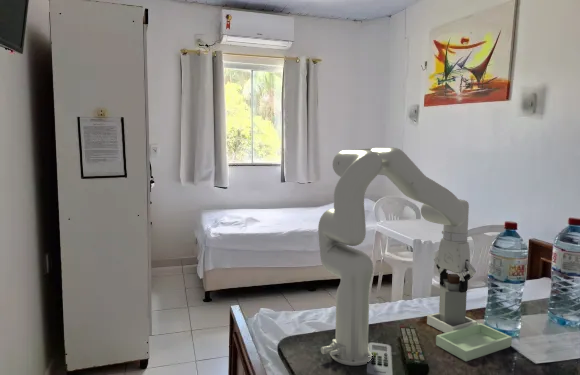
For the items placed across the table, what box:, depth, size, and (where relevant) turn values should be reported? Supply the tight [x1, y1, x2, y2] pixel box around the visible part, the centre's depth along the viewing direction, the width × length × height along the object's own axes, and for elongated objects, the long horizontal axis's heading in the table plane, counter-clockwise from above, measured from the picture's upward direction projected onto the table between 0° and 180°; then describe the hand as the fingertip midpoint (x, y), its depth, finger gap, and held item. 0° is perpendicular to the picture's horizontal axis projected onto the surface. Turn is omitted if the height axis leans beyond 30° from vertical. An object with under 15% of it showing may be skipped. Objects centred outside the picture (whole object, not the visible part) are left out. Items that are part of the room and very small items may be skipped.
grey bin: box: [426, 312, 478, 334], centre depth 139 cm, size 11×11×3 cm
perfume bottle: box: [438, 273, 468, 326], centre depth 138 cm, size 7×7×18 cm
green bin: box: [435, 323, 513, 362], centre depth 126 cm, size 20×11×3 cm, turn 117°
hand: (453, 287), depth 138 cm, fingers closed on perfume bottle, 7 cm apart
